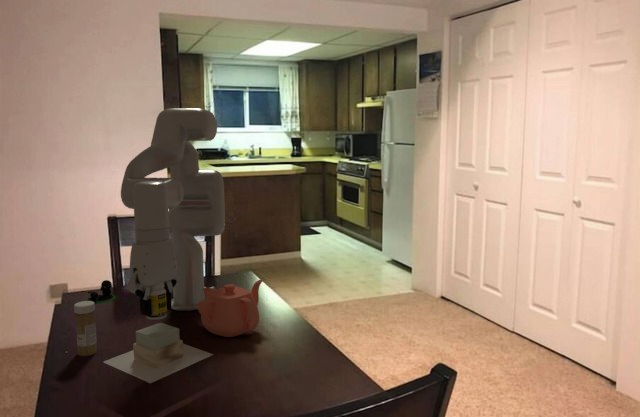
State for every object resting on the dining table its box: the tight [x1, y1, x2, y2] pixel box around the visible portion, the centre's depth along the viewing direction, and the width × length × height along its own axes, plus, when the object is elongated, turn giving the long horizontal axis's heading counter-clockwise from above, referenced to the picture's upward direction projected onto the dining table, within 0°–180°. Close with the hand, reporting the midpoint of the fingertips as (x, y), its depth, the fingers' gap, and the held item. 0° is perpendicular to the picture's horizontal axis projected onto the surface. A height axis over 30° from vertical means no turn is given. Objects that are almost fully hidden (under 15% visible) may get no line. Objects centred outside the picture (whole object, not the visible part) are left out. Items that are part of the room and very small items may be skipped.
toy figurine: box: [85, 279, 117, 305], centre depth 172 cm, size 10×10×6 cm
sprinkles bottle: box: [73, 300, 98, 357], centre depth 127 cm, size 5×5×14 cm
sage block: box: [135, 322, 181, 350], centre depth 124 cm, size 7×7×3 cm
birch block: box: [132, 339, 184, 369], centre depth 125 cm, size 8×8×4 cm
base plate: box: [102, 343, 214, 384], centre depth 125 cm, size 18×18×1 cm
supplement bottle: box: [145, 282, 168, 321], centre depth 123 cm, size 5×5×8 cm
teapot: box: [197, 278, 264, 338], centre depth 142 cm, size 16×17×14 cm
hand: (156, 310), depth 123 cm, fingers closed on supplement bottle, 4 cm apart
